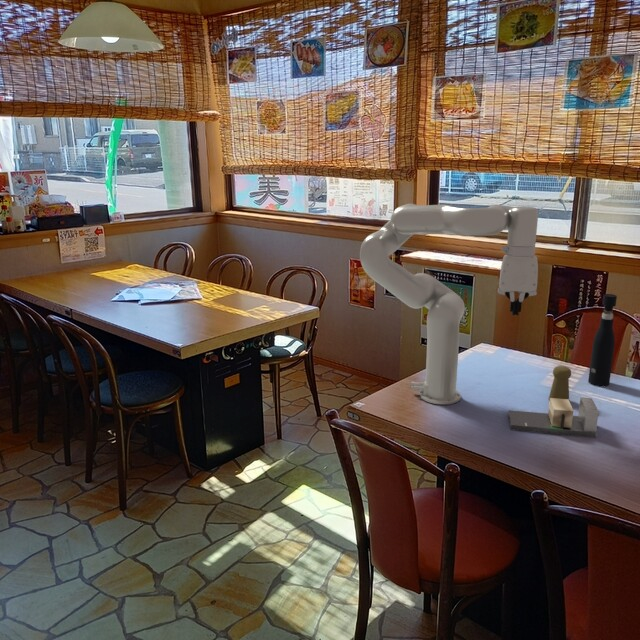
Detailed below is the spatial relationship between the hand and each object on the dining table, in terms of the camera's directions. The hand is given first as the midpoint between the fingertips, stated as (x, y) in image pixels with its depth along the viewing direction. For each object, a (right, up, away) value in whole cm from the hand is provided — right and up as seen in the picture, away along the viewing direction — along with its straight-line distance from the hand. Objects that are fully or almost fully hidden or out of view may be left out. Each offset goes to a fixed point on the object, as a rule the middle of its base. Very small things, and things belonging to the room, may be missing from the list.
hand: (515, 314), depth 174 cm
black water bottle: (+36, -23, +26) cm, 50 cm away
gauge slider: (+11, -30, -6) cm, 32 cm away
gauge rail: (+8, -32, -5) cm, 33 cm away
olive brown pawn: (+17, -27, +12) cm, 34 cm away
